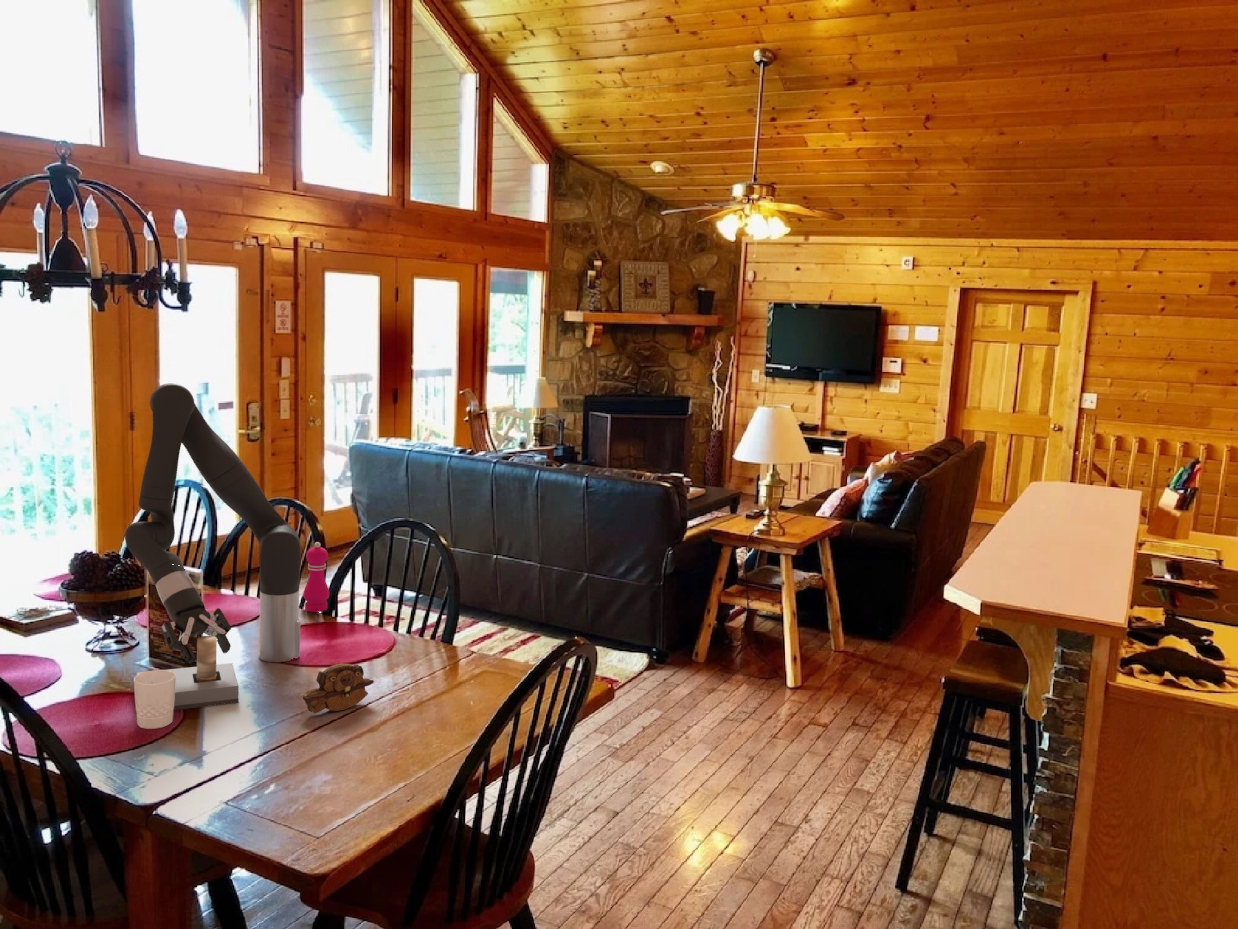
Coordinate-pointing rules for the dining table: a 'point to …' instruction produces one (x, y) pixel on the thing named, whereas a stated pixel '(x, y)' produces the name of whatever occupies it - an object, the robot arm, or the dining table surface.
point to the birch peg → (206, 658)
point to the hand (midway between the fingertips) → (210, 656)
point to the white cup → (154, 698)
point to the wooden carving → (337, 688)
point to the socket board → (205, 688)
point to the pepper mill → (316, 580)
